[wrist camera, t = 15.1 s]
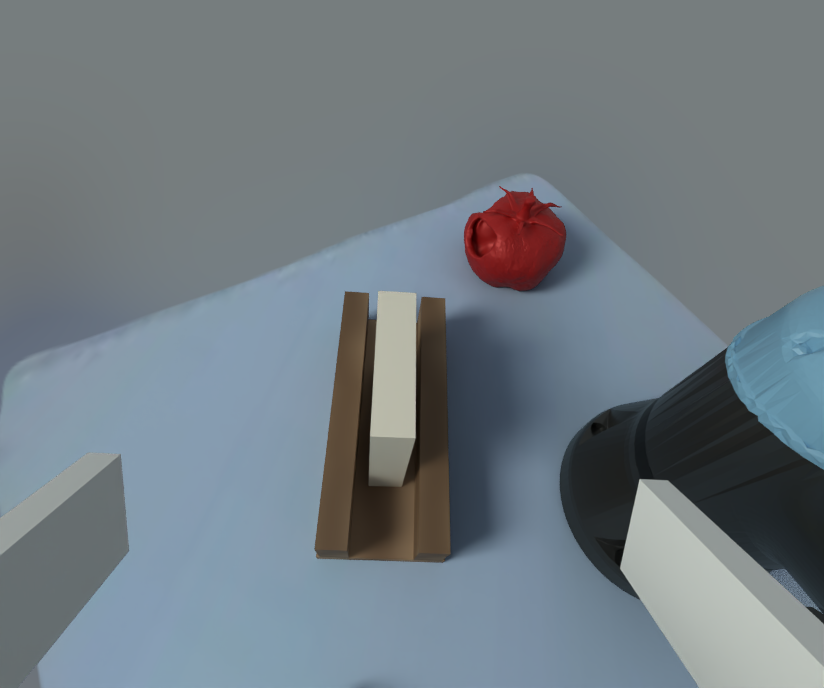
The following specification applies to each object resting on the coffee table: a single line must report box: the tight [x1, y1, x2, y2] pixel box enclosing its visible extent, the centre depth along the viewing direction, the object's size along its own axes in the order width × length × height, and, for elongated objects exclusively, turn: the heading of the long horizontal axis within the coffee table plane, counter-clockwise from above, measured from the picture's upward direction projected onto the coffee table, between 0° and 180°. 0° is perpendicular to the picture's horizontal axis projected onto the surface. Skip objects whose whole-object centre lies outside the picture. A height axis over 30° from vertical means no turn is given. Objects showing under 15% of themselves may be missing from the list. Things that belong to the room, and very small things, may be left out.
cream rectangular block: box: [368, 291, 416, 487], centre depth 33 cm, size 2×10×11 cm, turn 0°
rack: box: [315, 292, 450, 563], centre depth 36 cm, size 9×20×5 cm, turn 179°
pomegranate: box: [464, 186, 566, 291], centre depth 45 cm, size 10×10×9 cm
